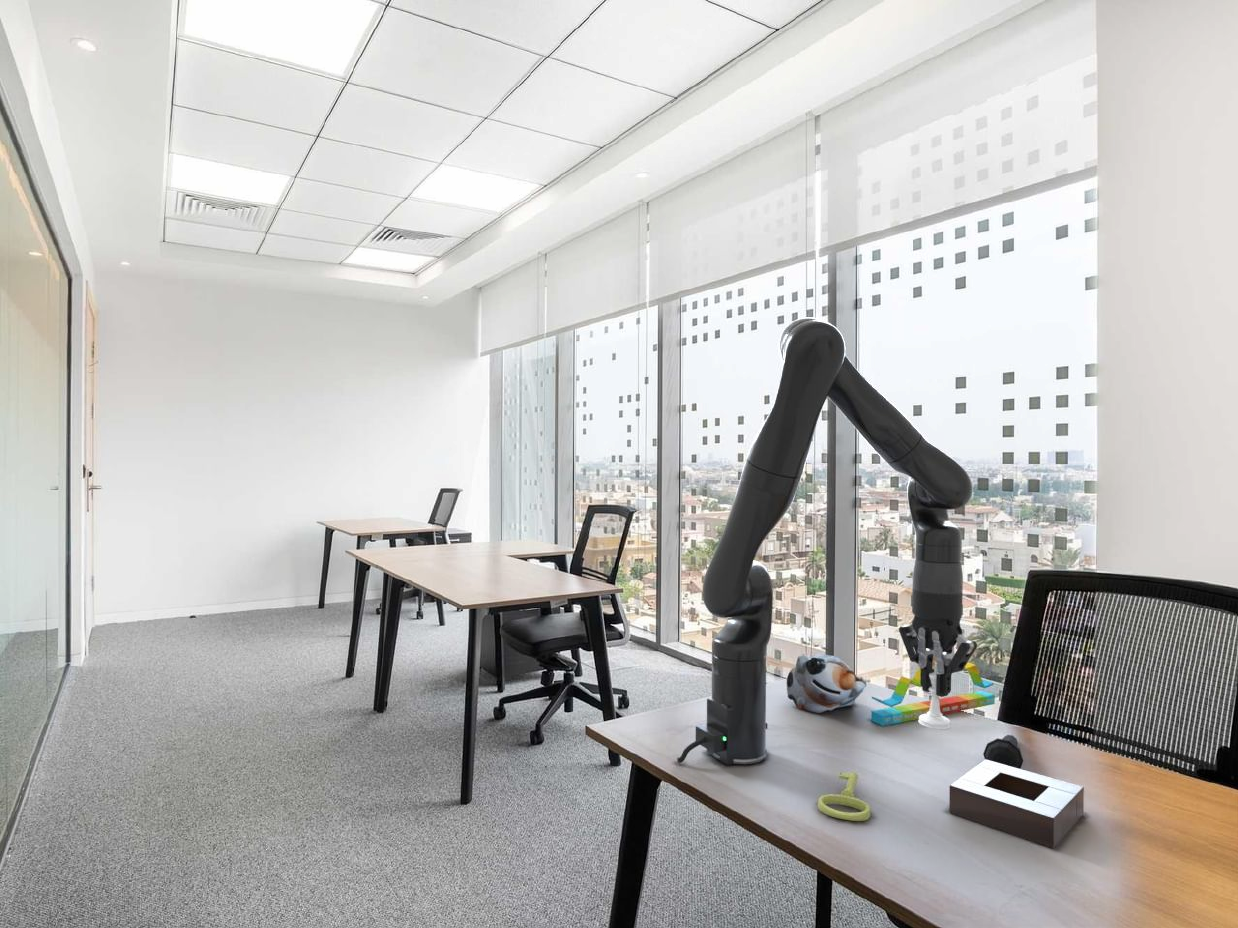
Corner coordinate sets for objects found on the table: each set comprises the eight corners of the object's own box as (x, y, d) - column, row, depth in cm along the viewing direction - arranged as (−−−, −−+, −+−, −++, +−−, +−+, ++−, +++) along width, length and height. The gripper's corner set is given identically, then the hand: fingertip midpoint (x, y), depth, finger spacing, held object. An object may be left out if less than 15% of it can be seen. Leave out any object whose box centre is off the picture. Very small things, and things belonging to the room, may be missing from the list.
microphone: (1001, 755, 135) (988, 781, 118) (991, 722, 136) (977, 743, 120) (1034, 752, 132) (1026, 778, 116) (1023, 718, 134) (1014, 739, 117)
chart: (883, 726, 141) (883, 647, 141) (871, 720, 144) (871, 643, 144) (995, 704, 154) (996, 632, 154) (982, 700, 157) (982, 629, 157)
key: (857, 784, 116) (857, 770, 116) (873, 823, 104) (873, 807, 104) (809, 781, 117) (809, 768, 117) (820, 819, 105) (820, 804, 105)
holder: (1053, 848, 97) (1053, 818, 97) (949, 812, 107) (949, 785, 107) (1083, 814, 106) (1083, 786, 106) (985, 784, 116) (985, 758, 116)
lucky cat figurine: (860, 699, 157) (877, 649, 150) (848, 738, 147) (865, 688, 140) (791, 670, 162) (805, 622, 155) (775, 707, 153) (788, 657, 146)
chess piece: (918, 726, 120) (919, 665, 120) (918, 716, 125) (919, 657, 124) (951, 731, 118) (953, 668, 118) (950, 720, 123) (951, 660, 123)
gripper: (991, 593, 117) (988, 702, 117) (916, 579, 129) (915, 678, 129) (960, 597, 113) (958, 710, 113) (887, 582, 125) (885, 684, 125)
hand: (935, 692), depth 121 cm, fingers closed on chess piece
